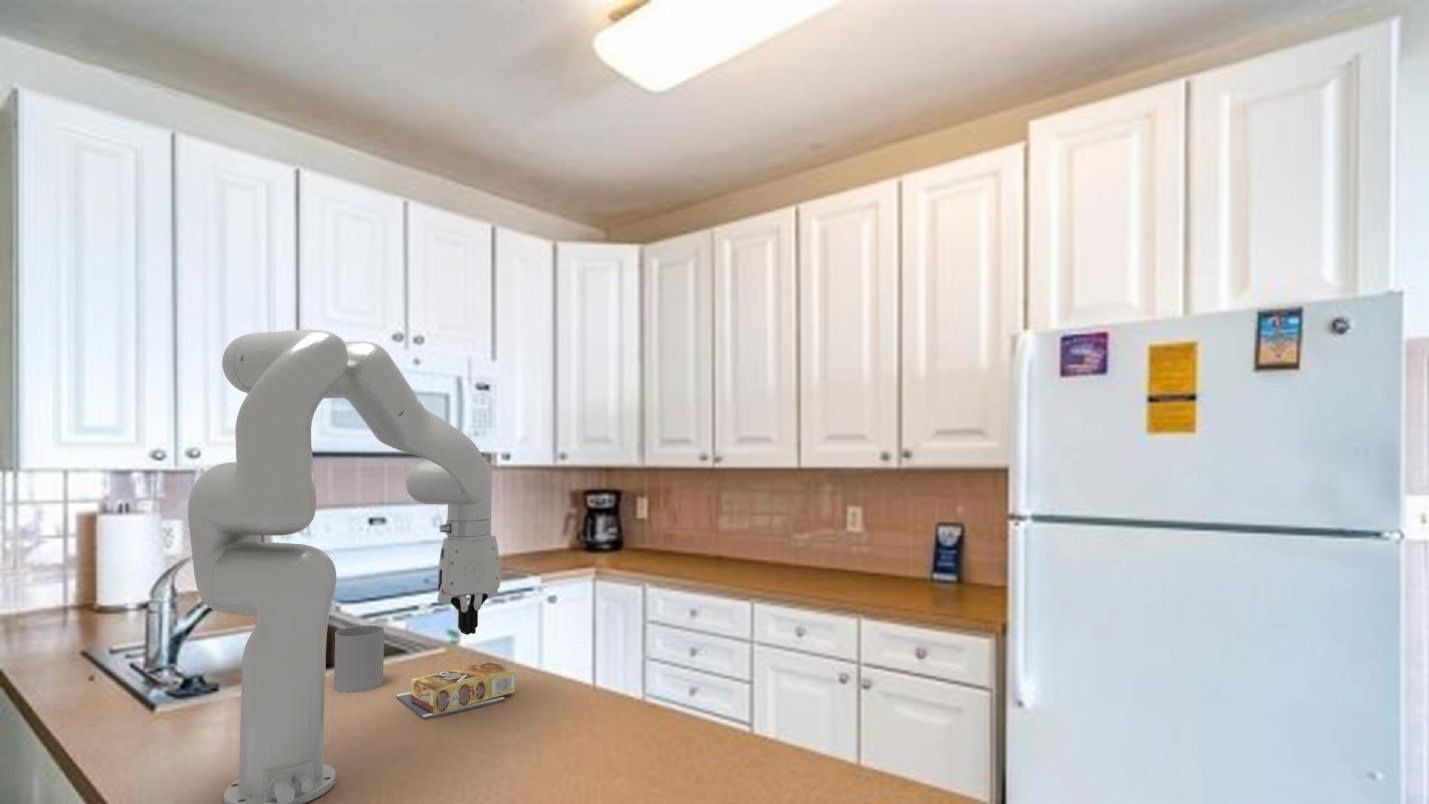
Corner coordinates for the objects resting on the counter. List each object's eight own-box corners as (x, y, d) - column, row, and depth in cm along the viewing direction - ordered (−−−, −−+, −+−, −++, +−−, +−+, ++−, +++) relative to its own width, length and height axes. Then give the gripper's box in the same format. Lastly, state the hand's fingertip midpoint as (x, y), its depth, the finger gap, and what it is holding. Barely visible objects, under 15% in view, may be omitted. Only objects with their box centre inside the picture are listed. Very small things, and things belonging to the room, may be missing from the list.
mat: (504, 701, 133) (505, 698, 133) (423, 719, 124) (423, 716, 124) (473, 681, 144) (473, 679, 144) (396, 697, 135) (396, 695, 135)
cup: (334, 681, 144) (336, 628, 144) (382, 676, 147) (383, 623, 148) (333, 695, 136) (334, 638, 137) (383, 688, 140) (384, 633, 140)
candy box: (516, 669, 136) (433, 688, 125) (516, 693, 135) (432, 715, 125) (491, 659, 142) (410, 677, 131) (490, 683, 142) (409, 702, 131)
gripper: (435, 534, 130) (433, 644, 129) (517, 528, 139) (516, 630, 138) (420, 530, 135) (418, 635, 134) (499, 524, 145) (498, 622, 144)
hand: (467, 632), depth 136 cm, fingers closed
